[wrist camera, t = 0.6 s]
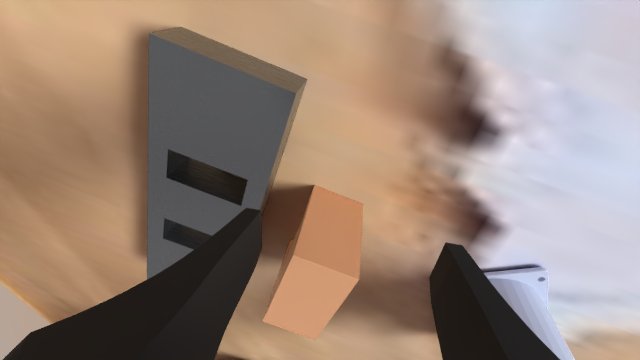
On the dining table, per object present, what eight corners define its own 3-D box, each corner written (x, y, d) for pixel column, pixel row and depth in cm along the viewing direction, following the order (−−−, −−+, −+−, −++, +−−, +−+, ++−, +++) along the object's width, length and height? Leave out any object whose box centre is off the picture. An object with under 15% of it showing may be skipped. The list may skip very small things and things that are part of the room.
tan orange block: (328, 263, 26) (315, 340, 21) (287, 248, 26) (262, 321, 20) (363, 204, 22) (359, 279, 16) (314, 185, 22) (293, 254, 16)
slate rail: (240, 281, 30) (228, 308, 28) (166, 255, 29) (146, 279, 27) (307, 79, 18) (296, 93, 15) (181, 26, 17) (149, 33, 15)
